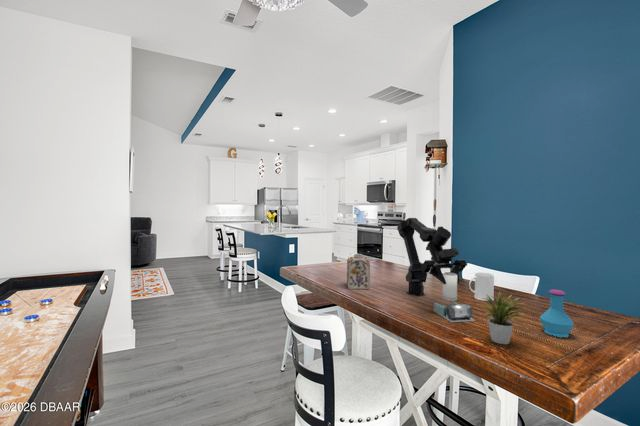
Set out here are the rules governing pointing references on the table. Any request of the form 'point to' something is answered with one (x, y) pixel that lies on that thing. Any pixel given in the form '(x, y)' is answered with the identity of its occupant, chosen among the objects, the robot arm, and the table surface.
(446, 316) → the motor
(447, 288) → the white cylinder
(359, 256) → the decorative jar
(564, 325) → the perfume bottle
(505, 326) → the house plant
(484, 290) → the mug
